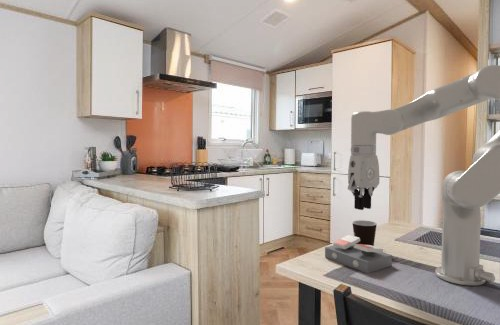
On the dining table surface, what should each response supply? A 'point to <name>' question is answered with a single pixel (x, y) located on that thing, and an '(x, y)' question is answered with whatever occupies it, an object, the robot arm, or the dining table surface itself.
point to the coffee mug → (365, 231)
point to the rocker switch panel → (359, 258)
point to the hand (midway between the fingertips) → (362, 208)
